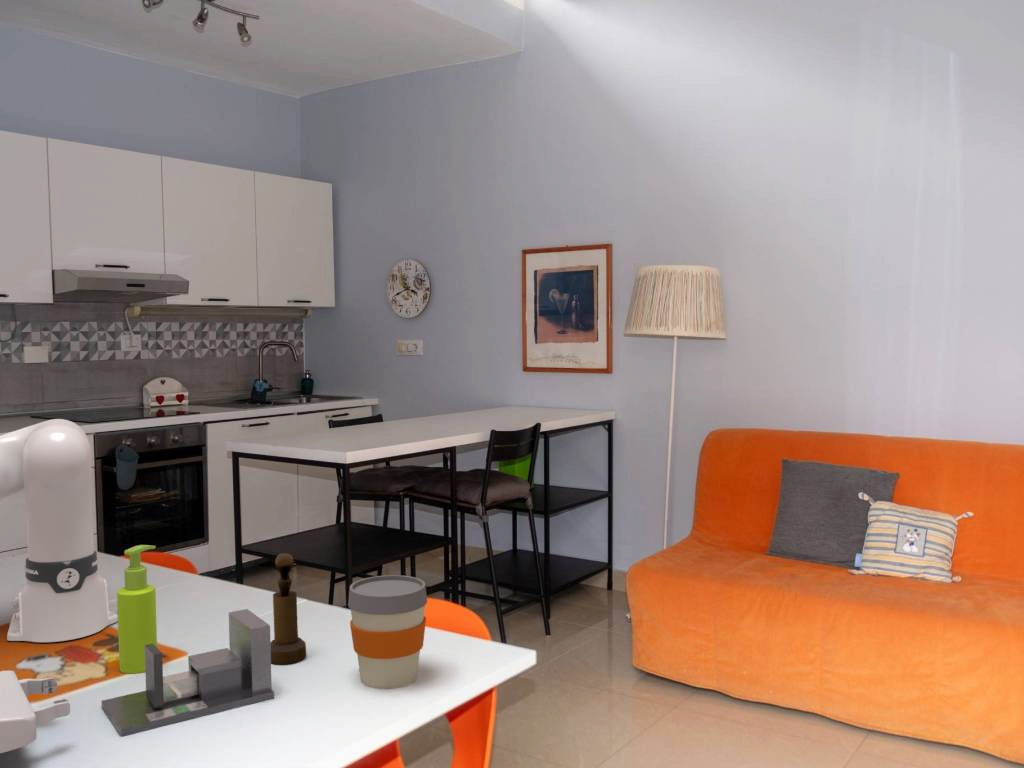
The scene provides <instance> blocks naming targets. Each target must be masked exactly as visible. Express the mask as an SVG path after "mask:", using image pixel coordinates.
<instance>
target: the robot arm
mask: <svg viewBox="0 0 1024 768" xmlns="http://www.w3.org/2000/svg"><path fill="white" fill-rule="evenodd" d="M22 492H24V503H25V504H24V505H25V517H26V535H27V536H26V541H27V543H26V544H27V558H26V559H25V565H24V571H25V579H26V581H25V583H24V584H23V587H22V588H21V589H20V590H21V591H20V592H19V593H18V595H13V596H12V599H11V600H12V601H11V602H12V603H11V604H12V609H13V610H17V609H18V611H16V612H15V613H14V612H13V614H12V616H11V620H10V623H9V626H8V627H9V628H8V631H7V635H6V641H9V642H21V641H22V642H23V641H24V642H31V643H56V642H65V641H70V640H71V641H72V640H76V639H77V640H78V639H80V638H85V637H87V636H88V637H89V636H90V635H94V634H96V633H98V632H100V631H102V630H104V629H105V628H106V627H108V626H110V625H112V624H115V623H118V614H116V613H114V612H112V611H110V609H109V596H108V595H109V594H108V584H107V580H106V579H104V578H103V576H100V575H99V574H98V573H97V571H98V569H99V568H98V563H99V559H98V554H97V551H96V550H95V539H94V538H95V537H94V536H95V535H94V533H95V532H94V513H93V511H94V509H93V508H94V506H93V470H92V449H91V444H90V441H89V438H88V436H87V434H86V432H85V430H83V428H82V427H81V426H80V425H78V424H77V423H75V422H73V421H71V420H69V419H63V418H54V419H49V420H45V421H41V422H38V423H36V424H32V425H28V426H26V427H25V426H24V427H23V428H20V429H16V430H14V431H10V432H7V433H5V434H2V435H0V502H1V501H3V500H6V499H8V498H10V497H13V496H15V495H17V494H19V493H22ZM57 690H58V682H57V680H56V678H55V677H54V676H52V677H47V678H41V679H40V678H23V679H18V677H17V674H16V672H15V671H14V670H1V671H0V755H1V754H3V753H7V752H10V751H14V750H17V749H20V748H21V749H22V748H23V747H25V746H26V747H27V746H28V745H30V744H31V743H34V742H35V741H36V740H37V738H38V737H37V736H38V735H37V732H38V731H37V728H38V727H41V726H45V725H46V724H48V723H51V722H52V721H55V720H56V719H58V718H63V717H67V716H69V715H70V714H71V704H70V702H69V700H68V699H65V698H64V699H60V700H54V701H53V703H51V704H49V705H46V706H43V707H42V706H37V707H32V706H31V704H30V701H29V699H28V697H29V695H39V694H42V695H43V696H44V695H49V694H53V693H56V692H57Z"/></svg>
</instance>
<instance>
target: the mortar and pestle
mask: <svg viewBox="0 0 1024 768" xmlns="http://www.w3.org/2000/svg"><path fill="white" fill-rule="evenodd" d="M274 564H275V567H276V569H277V571H278V572H279V575H280V577H279V578H278V579H277V584H278V585H277V586H278V588H279V591H276V592H274V593H273V594H272V606H273V607H272V608H273V633H274V634H273V635H274V636H273V638H274V639H272V641H271V640H270V642H271V665H280V666H281V665H282V666H283V665H291V664H292V665H293V664H296V663H299V662H301V661H303V660H305V658H306V656H307V645H306V641H305V640H303V639H302V638H301V637H299V629H298V604H297V603H298V600H297V599H298V597H297V594H298V593H297V592H296V591H292V590H291V585H292V578H290V572H291V570H292V568H293V566H294V558H293V555H292V554H290V553H287V552H284V553H283V552H282V553H279V554H278V555H277V556H276V558H275V560H274Z"/></svg>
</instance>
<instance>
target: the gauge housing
mask: <svg viewBox="0 0 1024 768" xmlns="http://www.w3.org/2000/svg"><path fill="white" fill-rule="evenodd" d="M228 634H229V635H228V637H229V638H228V641H229V648H228V647H226V648H225V647H224V648H221V649H217V650H211V651H207V652H206V651H205V652H202V653H197V654H193V655H188V657H187V658H188V661H187V662H188V671H191V670H196V671H197V672H198V673H199V694H198V695H193V696H189V697H185V698H181V699H176V700H172V701H168V702H164V707H161V708H157V709H155V708H154V707H153V705H152V704H151V703H150V702H149V700H148V699H147V698H146V690H142V691H139V692H138V691H137V692H135V693H129V694H126V695H119V696H117V697H111V698H107V699H103V700H101V708H102V710H103V711H104V713H105V714H106V716H107V718H108V719H109V721H110V722H111V724H112V725H113V727H114V729H115V730H116V731H117V733H118V734H119V736H120V737H125V736H128V735H132V734H136V733H140V732H144V731H147V730H153V729H157V728H161V727H164V726H168V725H172V724H177V723H180V722H184V721H188V720H192V719H196V718H200V717H204V716H208V715H213V714H217V713H220V712H224V711H229V710H232V709H236V708H241V707H244V706H247V705H252V704H255V703H261V702H264V701H269V700H273V699H275V691H274V690H273V689H272V687H273V686H272V663H271V625H270V624H269V623H268V622H267V621H264V619H262V618H260V617H259V616H258V615H256V614H255V613H253V612H252V611H251V610H249V608H246V609H239V610H236V611H235V610H234V611H229V612H228Z"/></svg>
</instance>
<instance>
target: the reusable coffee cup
mask: <svg viewBox="0 0 1024 768" xmlns="http://www.w3.org/2000/svg"><path fill="white" fill-rule="evenodd" d="M427 603H428V598H427V587H426V582H425V581H424V580H422V579H420V578H418V577H414V576H410V575H409V576H408V575H398V574H396V575H393V574H392V575H391V574H389V575H377V576H371V577H370V576H369V577H365V578H362V579H359V580H357V581H354V582H352V583H351V584H350V585H349V590H348V602H347V606H348V608H349V609H350V614H351V620H350V622H349V625H350V626H349V627H350V633H351V638H352V646H353V650H354V653H356V655H357V662H358V668H359V675H360V680H361V683H362V684H363V685H365V686H367V687H371V688H375V689H396V688H400V687H404V686H407V685H409V684H412V683H413V682H415V680H417V677H418V672H419V670H418V669H419V662H420V655H421V654H420V653H421V650H422V649H423V647H424V641H425V632H426V623H427V618H426V616H425V608H426V605H427Z"/></svg>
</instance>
